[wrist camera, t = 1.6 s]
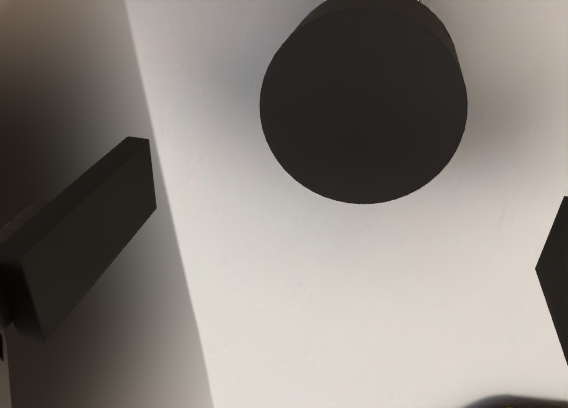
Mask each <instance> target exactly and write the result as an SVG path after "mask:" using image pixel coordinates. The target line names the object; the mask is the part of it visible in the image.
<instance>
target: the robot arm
mask: <svg viewBox="0 0 568 408" xmlns="http://www.w3.org/2000/svg"><path fill="white" fill-rule="evenodd" d="M156 208H157V207H156V198H155V190H154V181H153V172H152V163H151V154H150V145H149V139H143V138H136V137H127V138H125V139H124V140H123V141H122V142H121V143H119V144H118V145H117V146H116V147H115V148H113V149H112V150H111V151H110V152H109V153H107V154H106V155H105V156H104V157H103V158H102V159H100V160H99V161H98V162H97V163H95V164H94V165H93V166H92V167H91V168H90V169H88V170H87V171H86V172H85V173H84V174H82V175H81V176H80V177H79V178H78V179H76V180H75V181H74V182H73V183H72V184H71V185H69V186H68V187H67V188H66V189H64V190H63V191H62V192H61V193H60V194H59V195H57V196H56V197H55V198H54V199H52V200H51V201H50V202H49V201H42V202H40V203H37V204H35V205H33V206H31V207H29V208H27V209H25V210H24V211H23V212H21V213H20V214H19V215H18V216H17V217H15V218H14V219H13V221H10V222H9V223H8V224H6V225H5V226H4V227H3V230H0V408H11V397H10V386H9V373H8V360H7V347H6V340H5V337H4V334H3V331H4V330H5V329H6V328H7V327H8V326H9V325H10V323H11V322H12V321H13V322H14V325H15V328H16V331H17V334H18V337H19V338H23V339H28V340H33V341H38V342H42V343H46V342H47V341H48V339H49V338H50V337H51V336H52V335H53V333H54V332H55V331H56V330H57V329H58V327H59V326H60V325H61V324H62V322H63V321H64V320H65V319H66V318H67V316H68V315H69V314H70V313H71V312H72V310H73V309H74V308H75V307H76V306H77V304H78V303H79V302H80V301H81V299H82V298H83V297H84V296H85V295H86V293H87V292H88V291H89V290H90V289H91V287H92V286H93V285H94V284H95V282H96V281H97V280H98V279H99V277H100V276H101V275H102V274H103V273H104V271H105V270H106V269H107V268H108V267H109V265H110V264H111V263H112V262H113V261H114V259H115V258H116V257H117V256H118V254H119V253H120V252H121V251H122V249H123V248H124V247H125V246H126V245H127V243H128V242H129V241H130V240H131V239H132V237H133V236H134V235H135V234H136V233H137V231H138V230H139V229H140V228H141V227H142V225H143V224H144V223H145V222H146V220H147V219H148V218H149V217H150V215H151V214H152V213H153V212H154V211H155V210H156ZM535 270H536V273H537V276H538V279H539V282H540V285H541V288H542V291H543V294H544V297H545V299H546V302H547V305H548V308H549V311H550V314H551V317H552V320H553V323H554V326H555V329H556V332H557V335H558V338H559V341H560V344H561V347H562V350H563V353H564V356H565V359H566V362H567V365H568V196H564V198H563V200H562V203H561V205H560V208H559V210H558V213H557V215H556V218H555V220H554V223H553V225H552V228H551V230H550V233H549V235H548V238H547V240H546V243H545V245H544V248H543V250H542V253H541V255H540V258H539V260H538V263H537V265H536V268H535Z"/></svg>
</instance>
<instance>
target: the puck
mask: <svg viewBox="0 0 568 408" xmlns="http://www.w3.org/2000/svg"><path fill="white" fill-rule="evenodd" d="M467 105H468V102H467V93H466V87H465V83H464V79H463V75H462V72H461V68H460V65H459V61H458V58H457V54H456V50H455V47H454V44H453V42H452V39H451V37H450V35H449V33H448V31H447V30H446V28H445V26H444V25H443V23H442V22H441V21H440V20H439V19H438V17H437V16H436V15H435V14H434V13H433V12H432V11H431V10H429V9H428V8H427V7H426V6H425V5H423V4H422V3H420V2H419V1H417V0H327V1H326V2H324V3H322V4H321V5H319V6H318V7H317V8H316V9H314V10H313V11H312V12H311V13H310V14H309V15H308V16H307V17H306V18H305V19H304V20H303V21H302V22H301V23H300V25H299V26H298V27H297V28H296V29H295V30H294V32H293V33H292V34H291V35H290V36H289V37H288V39H287V40H286V41H285V42H284V43H283V44H282V46H281V47H280V48H279V50H278V51H277V53H276V54H275V55H274V57H273V59H272V61H271V62H270V64H269V66H268V68H267V71H266V74H265V76H264V79H263V83H262V88H261V93H260V118H261V124H262V129H263V132H264V135H265V138H266V141H267V143H268V145H269V147H270V149H271V151H272V153H273V155H274V156H275V158H276V159H277V161H278V162H279V163H280V165H281V166H282V167H283V168H284V170H285V171H286V172H287V173H288V174H289V175H290V176H292V177H293V178H294V179H295V180H296V181H297V182H299V183H300V184H301V185H303V186H304V187H306V188H308V189H309V190H311V191H313V192H315V193H317V194H319V195H321V196H324V197H326V198H329V199H333V200H336V201H340V202H345V203H354V204H374V203H382V202H387V201H391V200H395V199H398V198H401V197H403V196H406V195H408V194H410V193H412V192H414V191H416V190H418V189H420V188H421V187H423V186H424V185H426V184H427V183H429V182H430V181H431V180H432V179H433V178H434V177H436V176H437V175H438V174H439V173H440V172H441V171H442V170H443V168H444V167H445V166H446V165H447V164H448V163H449V161H450V160H451V158H452V157H453V155H454V154H455V152H456V150H457V148H458V146H459V144H460V142H461V139H462V136H463V133H464V130H465V125H466V119H467Z"/></svg>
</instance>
